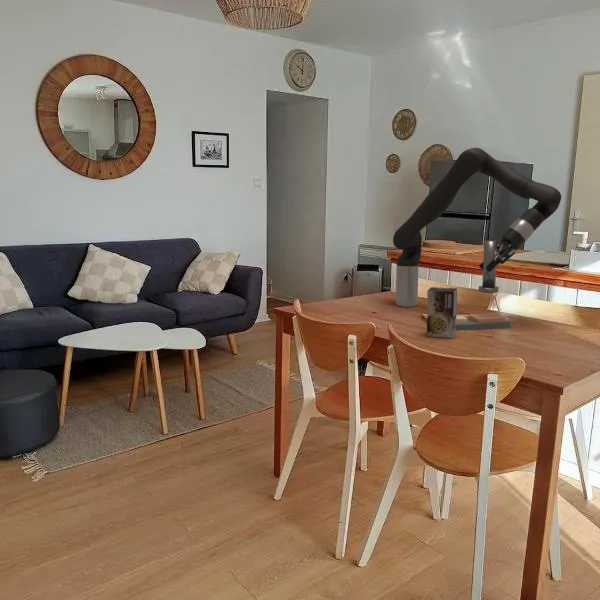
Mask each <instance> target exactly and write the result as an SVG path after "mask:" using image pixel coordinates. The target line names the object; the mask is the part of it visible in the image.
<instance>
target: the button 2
mask: <svg viewBox="0 0 600 600" xmlns="http://www.w3.org/2000/svg"><path fill="white" fill-rule="evenodd" d="M467 318H468V319H469V320H471V321H473V322H475V323H477V324H478V323H497V322H506V321H507V319H506V317H505V316H503V315H501V314H498V313H496V312H493V313H491V312H489V313H469V314H467Z"/></svg>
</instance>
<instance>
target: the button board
mask: <svg viewBox="0 0 600 600" xmlns="http://www.w3.org/2000/svg"><path fill="white" fill-rule="evenodd" d="M466 318H467V319H468V317H466ZM508 328H511V322H510V321H508V320H506V322H497V323H478V324H477V323H475V322H473V321H471V320H469V319H468V323H457V324H456V332H457V331H473V330H492V329H494V330H495V329H508Z"/></svg>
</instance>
